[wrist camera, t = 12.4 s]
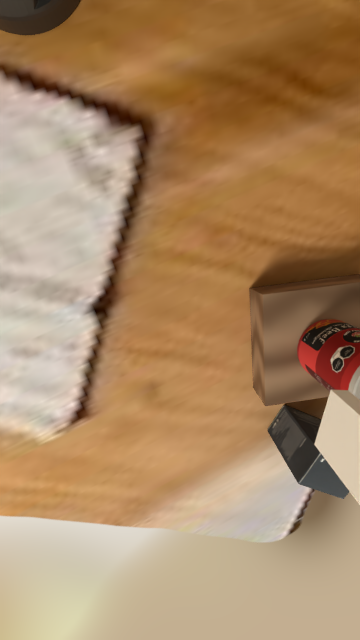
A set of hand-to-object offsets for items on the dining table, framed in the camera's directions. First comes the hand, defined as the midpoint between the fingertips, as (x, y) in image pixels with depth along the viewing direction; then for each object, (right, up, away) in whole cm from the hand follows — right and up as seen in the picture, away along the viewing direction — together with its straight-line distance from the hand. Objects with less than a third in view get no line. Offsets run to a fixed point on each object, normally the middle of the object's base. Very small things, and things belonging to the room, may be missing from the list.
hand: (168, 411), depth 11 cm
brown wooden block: (+19, +2, +30) cm, 36 cm away
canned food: (+19, 0, +25) cm, 32 cm away
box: (+20, -14, +35) cm, 42 cm away
